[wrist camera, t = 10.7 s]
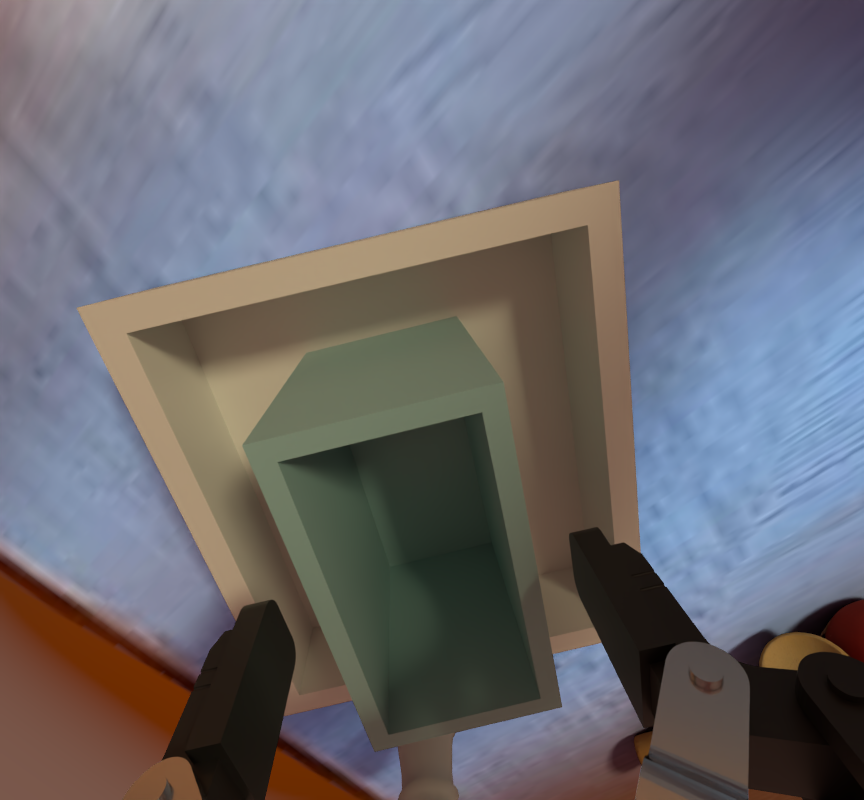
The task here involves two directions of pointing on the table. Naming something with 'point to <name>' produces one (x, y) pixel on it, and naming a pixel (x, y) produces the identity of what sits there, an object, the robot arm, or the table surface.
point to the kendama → (802, 650)
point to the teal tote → (410, 530)
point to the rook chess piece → (427, 769)
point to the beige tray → (374, 315)
